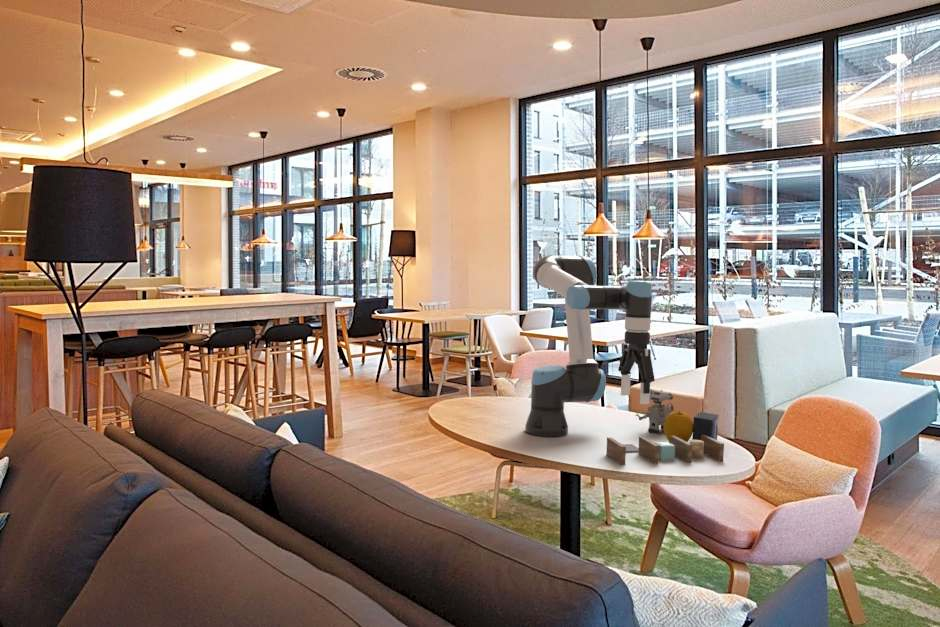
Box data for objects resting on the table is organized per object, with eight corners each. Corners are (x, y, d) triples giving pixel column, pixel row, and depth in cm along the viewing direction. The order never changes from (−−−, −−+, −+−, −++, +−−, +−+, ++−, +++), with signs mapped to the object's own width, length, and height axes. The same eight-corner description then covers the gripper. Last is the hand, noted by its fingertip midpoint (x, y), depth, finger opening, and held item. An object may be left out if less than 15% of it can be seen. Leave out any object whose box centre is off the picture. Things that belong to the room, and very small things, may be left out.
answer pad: (619, 452, 220) (619, 451, 220) (609, 446, 228) (609, 444, 228) (642, 452, 221) (642, 450, 221) (631, 445, 229) (631, 444, 229)
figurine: (649, 425, 259) (651, 386, 258) (675, 432, 250) (677, 391, 249) (634, 429, 253) (636, 388, 252) (661, 435, 244) (663, 393, 243)
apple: (675, 449, 225) (676, 414, 224) (656, 442, 234) (657, 408, 233) (698, 447, 229) (700, 412, 228) (679, 440, 238) (680, 406, 237)
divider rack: (620, 464, 207) (621, 446, 206) (606, 454, 217) (607, 437, 217) (723, 460, 214) (724, 443, 213) (704, 451, 224) (705, 434, 224)
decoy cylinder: (693, 459, 215) (693, 443, 215) (686, 455, 219) (686, 439, 219) (705, 458, 216) (706, 442, 216) (698, 454, 220) (699, 439, 220)
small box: (711, 451, 225) (712, 419, 224) (691, 447, 229) (692, 416, 228) (718, 444, 234) (719, 413, 234) (698, 441, 238) (699, 411, 237)
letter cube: (661, 460, 213) (661, 445, 212) (654, 456, 217) (654, 442, 217) (674, 460, 214) (675, 445, 213) (667, 455, 218) (668, 441, 218)
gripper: (668, 335, 199) (665, 407, 200) (631, 327, 223) (628, 391, 225) (644, 335, 197) (641, 408, 199) (609, 327, 222) (607, 391, 223)
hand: (634, 399), depth 212 cm, fingers open, 13 cm apart
